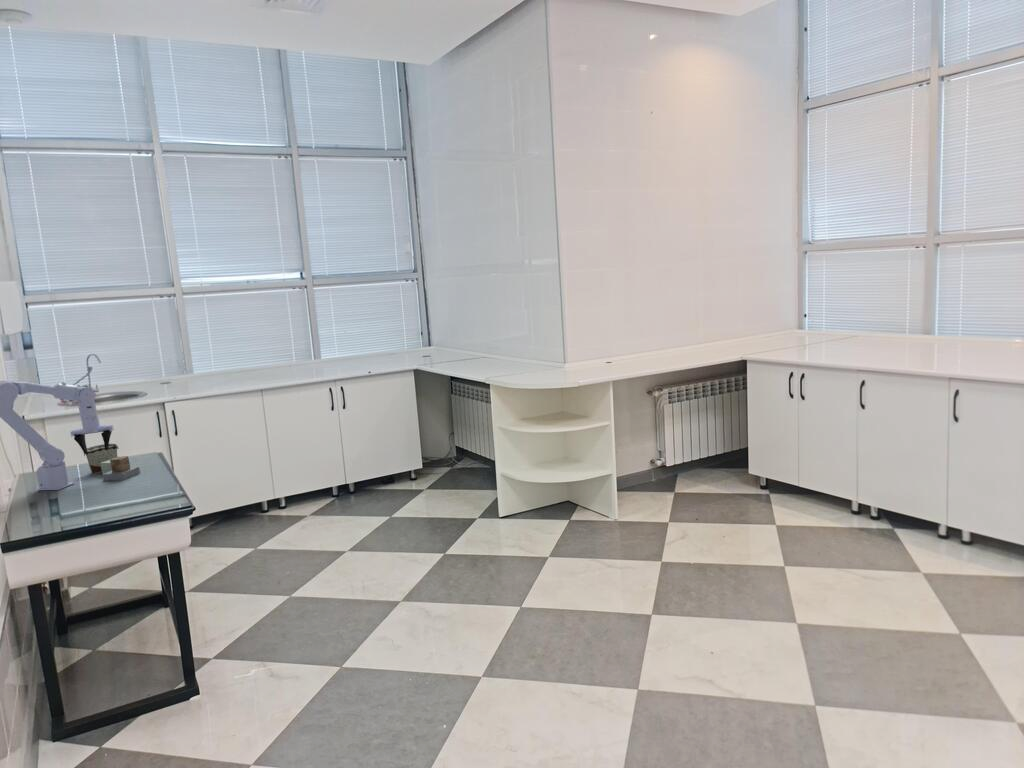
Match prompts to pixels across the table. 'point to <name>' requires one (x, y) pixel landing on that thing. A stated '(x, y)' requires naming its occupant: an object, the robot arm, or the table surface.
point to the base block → (121, 474)
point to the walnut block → (120, 464)
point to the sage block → (106, 466)
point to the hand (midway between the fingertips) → (96, 451)
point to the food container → (100, 456)
